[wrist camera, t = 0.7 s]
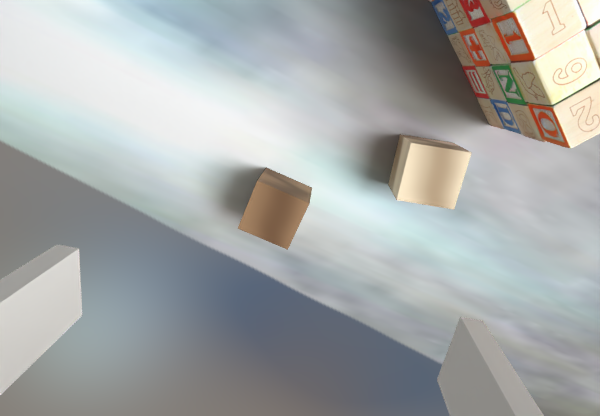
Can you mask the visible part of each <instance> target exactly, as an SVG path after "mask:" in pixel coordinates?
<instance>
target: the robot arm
mask: <svg viewBox="0 0 600 416" xmlns="http://www.w3.org/2000/svg"><path fill="white" fill-rule="evenodd" d="M81 316H82V302H81V281H80V259H79V248H74V247H68V246H62V245H55V246H54V247H52V248H51V249H49V250H47V251H46V252H45V253H43V254H41V255H39V256H38V257H36V258H35V259H33V260H31V261H30V262H28V263H27V264H25V265H23V266H22V267H20V268H18V269H17V270H15V271H13V272H12V273H10V274H9V275H7V276H6V277H4V278H2V279H1V280H0V395H1V394H2V393H3V392H4V391H5V390H6V389H7V388H8V387H9V386H10V385H11V384H12V383H13V382H14V381H15V380H16V379H17V378H18V377H20V376H21V375H22V374H23V373H24V371H26V370H27V369H28V368H29V367H30V366H31V365H32V364H33V363H34V362H35V361H36V360H37V359H38V358H39V357H40V356H41V355H42V354H43V353H44V352H45V351H46V350H47V349H48V348H49V347H50V346H51V345H52V344H53V343H54V342H55V341H56V340H58V339H59V338H60V337H61V336H62V335H63V334H64V333H65V332H66V331H67V330H68V329H69V328H70V327H71V326H72V325H73V324H74V323H75V322H76V321H77V320H78V319H79V318H80V317H81ZM437 381H438V384H439V386H440V389H441V392H442V395H443V398H444V400H445V403H446V406H447V408H448V411H449V414H450V416H543V414H542V412H541V411H540V409H539V408H538V406H537V405H536V403H535V401H534V400H533V398H532V397H531V395H530V394H529V392H528V390H527V389H526V387H525V386H524V384H523V383H522V381H521V380H520V378H519V376H518V375H517V373H516V372H515V370H514V369H513V367H512V365H511V364H510V362H509V361H508V359H507V358H506V356H505V354H504V353H503V351H502V350H501V348H500V347H499V345H498V343H497V342H496V340H495V339H494V337H493V336H492V334H491V333H490V331H489V329H488V328H487V326H486V325H485V323H484V322H483V321H482V320H476V319H471V318H465V317H460V319H459V322H458V325H457V327H456V330H455V333H454V335H453V338H452V341H451V343H450V346H449V349H448V352H447V354H446V357H445V360H444V362H443V365H442V368H441V371H440V373H439V376H438V379H437Z"/></svg>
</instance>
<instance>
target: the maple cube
mask: <svg viewBox="0 0 600 416" xmlns="http://www.w3.org/2000/svg"><path fill="white" fill-rule="evenodd" d="M470 156H471V152H469V151H468V150H466V149H464V148H462V147H460V146H458V145H456V144H454V143H451V142H445V141H439V140H432V139H426V138H420V137H414V136H407V135H401V134H400V137H399V141H398V145H397V149H396V154H395V158H394V162H393V166H392V170H391V175H390V179H389V183H388V185H389V187H390V189H391V191H392V193H393V194H394V196H395V198H396V200H400V201H406V202H412V203H418V204H424V205H430V206H436V207H442V208H449V209H454V208H455V205H456V202H457V198H458V195H459V192H460V189H461V185H462V182H463V179H464V176H465V172H466V169H467V166H468V163H469V159H470Z"/></svg>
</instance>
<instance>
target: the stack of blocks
mask: <svg viewBox="0 0 600 416" xmlns="http://www.w3.org/2000/svg"><path fill="white" fill-rule="evenodd" d="M429 1H430V2H431V3H432V6H433V8H434V10H435V12H436V14H437V16H438V18H439V20H440V22H441V24H442V26H443V28H444V30H445V32H446V34H447V35H448V38H449V40H450V42H451V44H452V46H453V48H454V50H455V52H456V54H457V56H458V58H459V60H460V62H461V64H462V68H463V70H464V72H465V75H466V77H467V79H468V81H469V83H470V85H471V87H472V89H473V91H474V93H475V95H476V97H477V100H478V102H479V104H480V106H481V108H482V110H483V112H484V114H485V116H486V119H487V121H488V123H489V124H490V125H491V126H495V127H498V128H501V129H506V130H509V131H513V132H516V133H519V134H523V135H524V136H526V137H529V138H532V139H536V140H538V141H542V142H545V141H547V142H551V143H554V144H557V145H560V146H563V147H567V148H573V147H575V146H577V145H579V144H581V143H582V142H584V141H586V140H588V139H590V138H592V137H594V136H596V135H598V134H600V0H429Z"/></svg>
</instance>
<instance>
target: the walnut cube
mask: <svg viewBox="0 0 600 416" xmlns="http://www.w3.org/2000/svg"><path fill="white" fill-rule="evenodd" d="M311 190H312V188H311V187H309V186H307V185H305V184H302V183H300V182H298V181H296V180H293V179H291V178H289V177H286V176H284V175H282V174H280V173H277V172H275V171H273V170H271V169H268V168H266V169H265V170H264V172H263V173H262V174H261V176H260V177H259V179H258V180H257V182H256V185H255V187H254V190H253V192H252V195H251V197H250V200H249V202H248V204H247V207H246V209H245V212H244V214H243V217H242V219H241V222H240V224H239V226H238V229H241V230H243V231H245V232H248V233H250V234H252V235H255V236H257V237H259V238H262V239H264V240H266V241H269V242H271V243H273V244H276V245H278V246H280V247H283V248H285V249H287V250H288V248H289V246H290V243H291V241H292V239H293V237H294V235H295V233H296V231H297V229H298V227H299V224H300V222H301V220H302V218H303V216H304V214H305V212H306V210H307V207H308V205H309V203H310V197H311Z"/></svg>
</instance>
